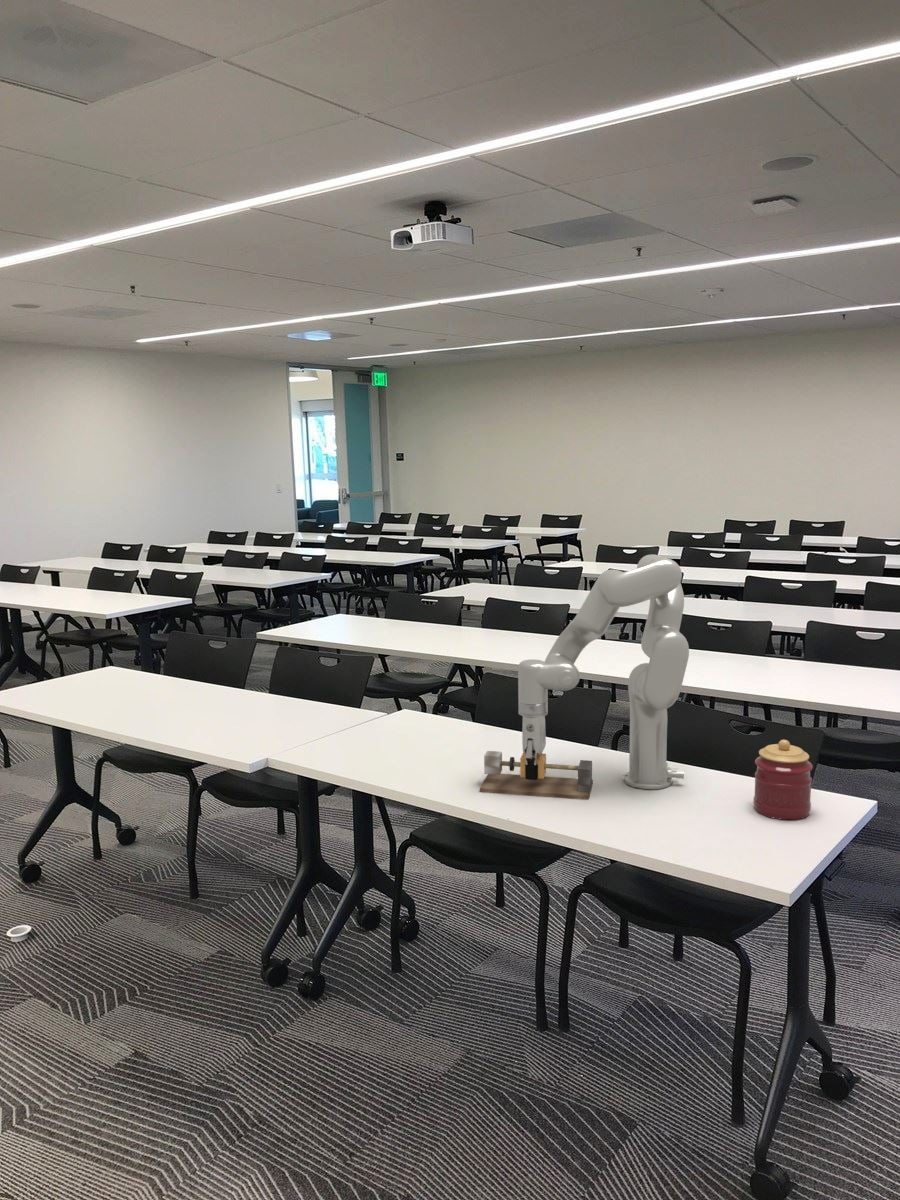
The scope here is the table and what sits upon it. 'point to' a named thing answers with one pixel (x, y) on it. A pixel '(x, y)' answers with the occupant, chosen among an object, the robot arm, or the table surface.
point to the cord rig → (536, 787)
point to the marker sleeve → (540, 762)
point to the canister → (783, 781)
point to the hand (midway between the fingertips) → (533, 774)
